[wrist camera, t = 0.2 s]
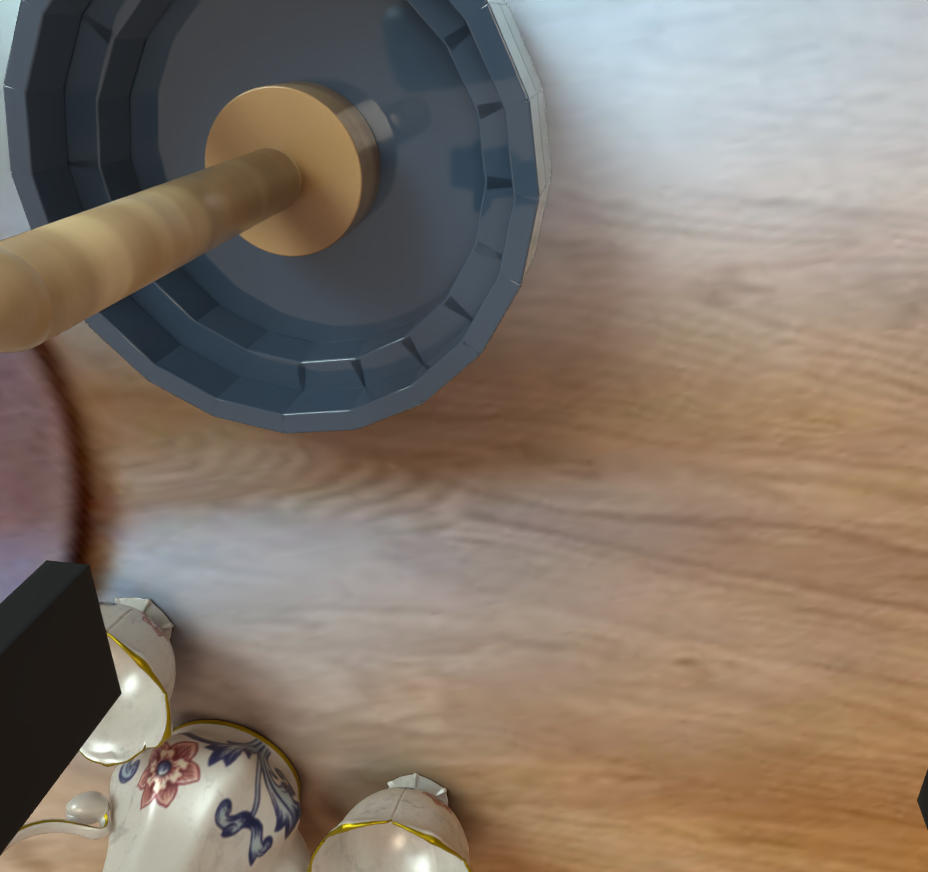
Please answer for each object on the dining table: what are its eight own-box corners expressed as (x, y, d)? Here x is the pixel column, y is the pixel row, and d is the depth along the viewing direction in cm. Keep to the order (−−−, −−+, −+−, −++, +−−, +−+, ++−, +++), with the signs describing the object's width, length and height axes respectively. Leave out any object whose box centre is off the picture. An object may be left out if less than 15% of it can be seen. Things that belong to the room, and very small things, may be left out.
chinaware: (548, 765, 45) (532, 1108, 29) (403, 940, 51) (328, 1299, 36) (77, 506, 43) (-206, 730, 27) (-14, 722, 49) (-285, 1004, 33)
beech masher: (297, 43, 29) (-97, 75, 13) (412, 168, 30) (174, 332, 14) (204, 159, 31) (-224, 301, 16) (313, 271, 32) (18, 506, 17)
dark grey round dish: (285, -264, 26) (213, -323, 21) (654, 175, 29) (658, 203, 25) (11, 148, 33) (-84, 168, 29) (333, 456, 37) (292, 516, 32)
